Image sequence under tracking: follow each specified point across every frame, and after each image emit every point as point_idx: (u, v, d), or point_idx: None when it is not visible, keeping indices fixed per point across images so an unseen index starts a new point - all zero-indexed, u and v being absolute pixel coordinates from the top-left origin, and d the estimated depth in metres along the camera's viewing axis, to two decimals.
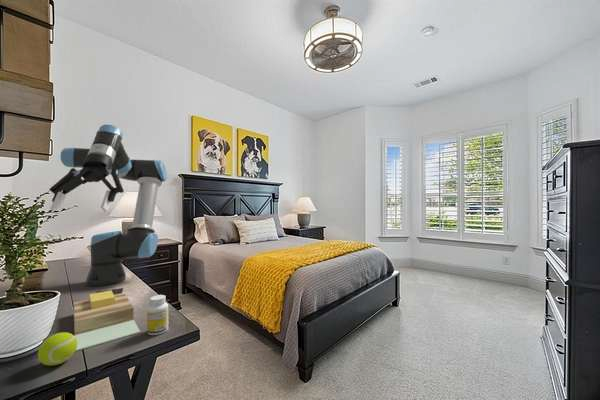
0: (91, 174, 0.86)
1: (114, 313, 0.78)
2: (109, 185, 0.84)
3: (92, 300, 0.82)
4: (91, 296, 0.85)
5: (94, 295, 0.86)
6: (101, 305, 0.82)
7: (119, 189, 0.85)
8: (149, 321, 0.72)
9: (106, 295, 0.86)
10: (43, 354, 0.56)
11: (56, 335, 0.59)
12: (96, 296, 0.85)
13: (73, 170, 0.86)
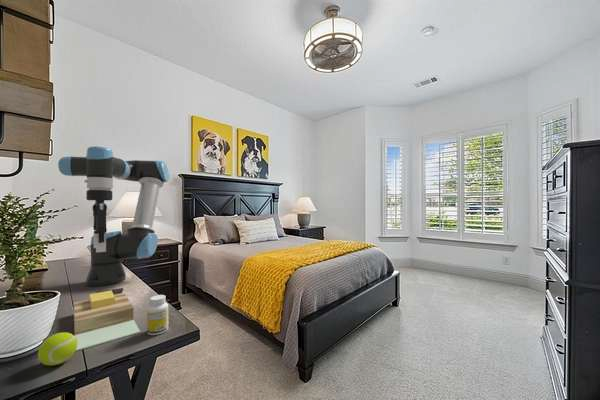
0: None
1: (114, 313, 0.78)
2: None
3: (92, 300, 0.82)
4: (91, 296, 0.85)
5: (94, 295, 0.86)
6: (101, 305, 0.82)
7: (99, 231, 0.87)
8: (149, 321, 0.72)
9: (106, 295, 0.86)
10: (43, 354, 0.56)
11: (56, 335, 0.59)
12: (96, 296, 0.85)
13: None
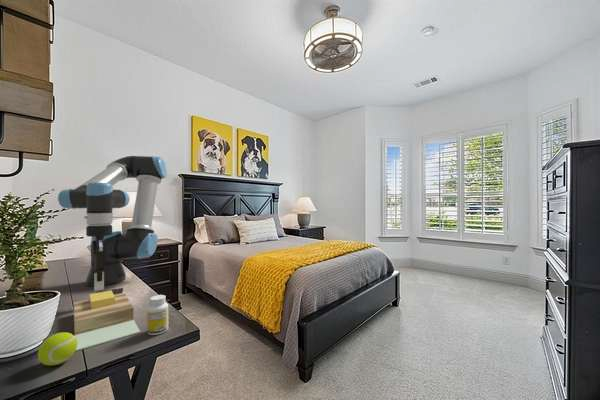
0: None
1: (114, 313, 0.78)
2: (95, 266, 0.92)
3: (92, 300, 0.82)
4: (91, 296, 0.85)
5: (94, 295, 0.86)
6: (101, 305, 0.82)
7: (98, 271, 0.91)
8: (149, 321, 0.72)
9: (106, 295, 0.86)
10: (43, 354, 0.56)
11: (56, 335, 0.59)
12: (96, 296, 0.85)
13: None
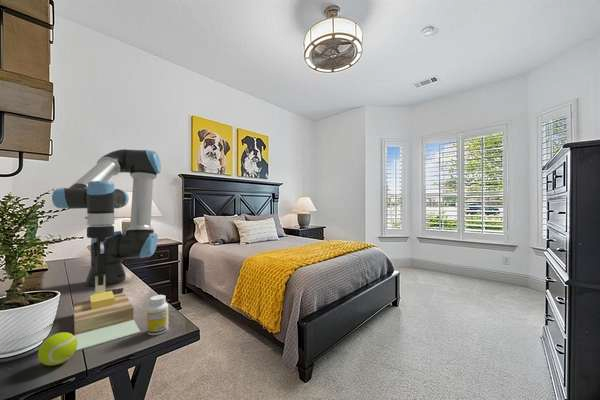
0: None
1: (114, 313, 0.78)
2: (96, 269, 0.88)
3: (92, 301, 0.81)
4: (91, 296, 0.85)
5: (94, 295, 0.86)
6: (101, 306, 0.82)
7: (99, 275, 0.87)
8: (149, 321, 0.72)
9: (107, 295, 0.86)
10: (43, 354, 0.56)
11: (56, 335, 0.59)
12: (96, 296, 0.85)
13: None
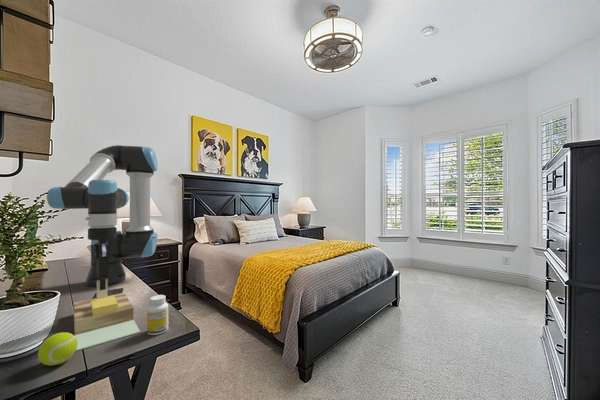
0: None
1: (114, 313, 0.78)
2: (98, 273, 0.83)
3: (93, 307, 0.76)
4: (92, 302, 0.80)
5: (96, 301, 0.81)
6: (103, 312, 0.77)
7: (100, 279, 0.82)
8: (149, 321, 0.72)
9: (109, 301, 0.81)
10: (43, 354, 0.56)
11: (56, 335, 0.59)
12: (98, 302, 0.80)
13: None
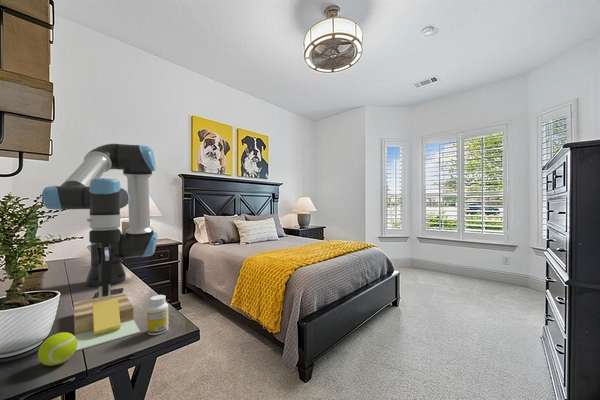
0: None
1: None
2: (100, 278, 0.77)
3: (95, 327, 0.71)
4: (94, 311, 0.74)
5: (98, 309, 0.75)
6: (105, 332, 0.73)
7: (103, 285, 0.76)
8: (149, 321, 0.72)
9: (112, 314, 0.75)
10: (43, 354, 0.56)
11: (56, 335, 0.59)
12: (100, 313, 0.74)
13: None
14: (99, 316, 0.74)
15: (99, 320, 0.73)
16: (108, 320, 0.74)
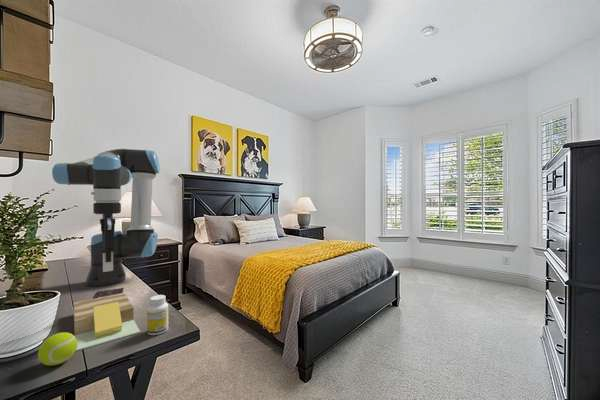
0: None
1: None
2: None
3: (96, 328, 0.70)
4: (95, 314, 0.74)
5: (99, 312, 0.74)
6: (106, 333, 0.72)
7: (106, 251, 0.85)
8: (149, 321, 0.72)
9: (113, 316, 0.75)
10: (43, 354, 0.56)
11: (56, 335, 0.59)
12: (101, 315, 0.74)
13: None
14: (100, 318, 0.73)
15: (100, 322, 0.72)
16: (109, 321, 0.73)
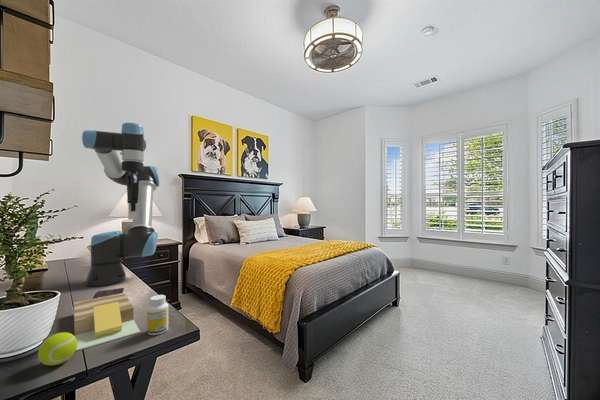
0: None
1: None
2: (129, 197, 1.04)
3: (96, 328, 0.70)
4: (95, 314, 0.74)
5: (99, 312, 0.74)
6: (106, 333, 0.72)
7: (132, 201, 1.03)
8: (149, 321, 0.72)
9: (113, 316, 0.75)
10: (43, 354, 0.56)
11: (56, 335, 0.59)
12: (101, 315, 0.74)
13: (127, 181, 1.09)
14: (100, 318, 0.73)
15: (100, 322, 0.72)
16: (109, 321, 0.73)
